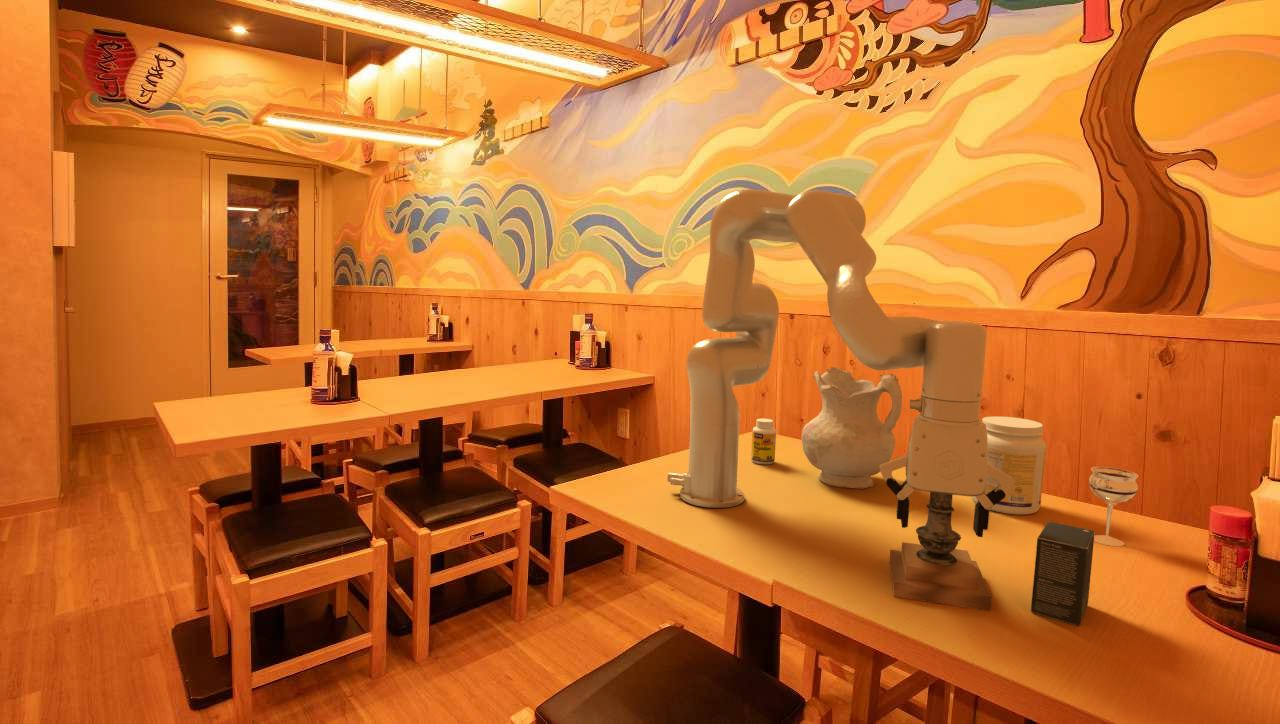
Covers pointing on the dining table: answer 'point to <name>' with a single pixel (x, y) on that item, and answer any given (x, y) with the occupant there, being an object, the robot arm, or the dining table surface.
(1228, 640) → the dining table surface
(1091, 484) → the wineglass
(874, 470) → the ceramic pitcher
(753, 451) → the supplement bottle
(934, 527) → the salt shaker
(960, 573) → the plinth
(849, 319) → the robot arm
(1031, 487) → the supplement tub
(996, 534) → the dining table surface
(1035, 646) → the dining table surface
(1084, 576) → the box
